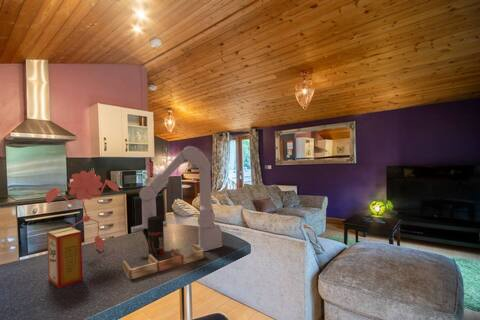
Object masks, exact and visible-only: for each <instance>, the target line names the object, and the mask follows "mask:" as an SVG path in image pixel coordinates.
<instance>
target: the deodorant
mask: <svg viewBox="0 0 480 320" xmlns="http://www.w3.org/2000/svg"><path fill="white" fill-rule="evenodd" d="M147 220H148V243H147V246H148V247H147V248H148V255H149V254H151V255H152V256H153V257H154V258H155V259H156V258H159V257H160V258H161V257H163V256H164V255H165V240H164V239H165V237H164V235H165V234H164V227H163V222H164V216H163V215H156V216H153V217H149V218H147Z"/></svg>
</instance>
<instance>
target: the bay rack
mask: <svg viewBox="0 0 480 320" xmlns="http://www.w3.org/2000/svg"><path fill="white" fill-rule="evenodd" d="M197 245H198V244H195V243H191V251H192V252H189V253H186V254H181V253H180V252H179V251H177V250H176V249H175V248H171V249H170V250H171V251H170V253H171V258H167V259H162V260H158V259H156V258H154V257H153V256H152V255H151V254H149V253H148V254H147V255H148V264H145V265H140V266H137V267H133V268H131V266H130V265H129V263H127V260H122V271H123V272H124V273H125V275H126V276H127V278H128V280H130V281H131V280H133V279H137V278H138V279H139V278H140V277H143V276H147V275H148V276H149V275H150V274H154V273H158V272H161V271H165V270H169V269H172V268H175V267H179V266H181V265H182V266H183V265H185V264H188V263H193V262H196V261H199V260H202V259H206V251H205V250H204V249H202V248H201V247H199V246H197Z"/></svg>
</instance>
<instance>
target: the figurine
mask: <svg viewBox="0 0 480 320" xmlns="http://www.w3.org/2000/svg"><path fill="white" fill-rule="evenodd" d="M101 178H102V177H101V176H100V175H96V173H95V170H93V169H91V170H89V171H88V172H87V171H85V170H81V171H80V173H73V174H72V175H71V179H72V181H70V182H69V183H68V184H67V185H68V187H69V188H70V189H69V191H68V194H69V195H70V196H76V198H75V199H71V200H69V199H68V197H65V196H64V194H63V193H62V192H61V191H59V189H58V188H57V187H56V186H54V187H53V188H51V189H50V190H48V192H47V193H46V194H45V201H46V203H47V204H50V203H52V202H53V201H54V200H56V198H57V197H58V196H59V195H60V196H61V197H62V198H63V199H65V200H66V201H67V202H68V203H73V202H74V201H75V202H76V201H82V207H83V210H84V214H85V215H84V216H83V217H82V220H80V221H78V222H77V223H74V224H73V225H70V227H71V228H73V227H74V226H76V225H78V224H80V223H82V222H85V223H87V222H90V221H92V222H96V223H97V235H95V237H94V244H95V246H94V249H95V250H96V249H97V248H99V249H100V250H103V251H105V242H104V240H103V239H102V237H100V236H99V235H100V234H99V229H100V228H99V227H100V225H99V224H100V222H99V221H98V220H95V219H93V218H91V216H90V215H88V214H87V210H86V206H85V200H89V201H90V200H92V199H93V198H100V196H101V195H102V193H103V190H104V188H105V186H106V185H107V186H108V188H110V189H111V190H113V191H114V192H118V193H119V192H120V189H119V187H118V185H117V184H116V183H115V182H113V181H112V180H109V179H105V182H104V184H103V182H102V181H101ZM100 188H101V189H100ZM70 227H69V228H70ZM112 253H113V254H114V251H112V252H111V253H109V255H112ZM107 256H108V255H105V256H102V257H99V258H95V259H94V260H99V259H102V258H105V257H107ZM92 261H93V259H92V260H90V262H92ZM88 262H89V260H85V263H88Z"/></svg>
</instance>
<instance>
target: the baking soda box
mask: <svg viewBox="0 0 480 320" xmlns="http://www.w3.org/2000/svg"><path fill="white" fill-rule="evenodd" d="M46 234H47V265H48V267H47V268H48V273H47V274H48V281H50V283H52V284H53V285H54V286H55V287H56V288H58V289H60V288H64V287H66V286H69V285H72V284H75V283H78V282H80V281H83V279H84V278H83V275H84V273H83V249H82V247H83V246H82V242H83V241H82V231H81V230H78V229H75V228H74V227H67V228H62V229H61V228H60V229H56V230H51V231H47V233H46Z"/></svg>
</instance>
